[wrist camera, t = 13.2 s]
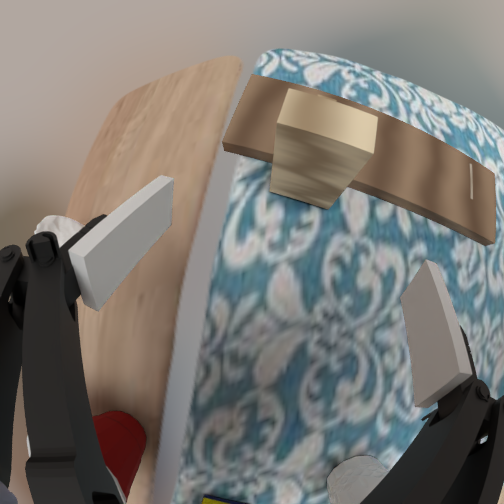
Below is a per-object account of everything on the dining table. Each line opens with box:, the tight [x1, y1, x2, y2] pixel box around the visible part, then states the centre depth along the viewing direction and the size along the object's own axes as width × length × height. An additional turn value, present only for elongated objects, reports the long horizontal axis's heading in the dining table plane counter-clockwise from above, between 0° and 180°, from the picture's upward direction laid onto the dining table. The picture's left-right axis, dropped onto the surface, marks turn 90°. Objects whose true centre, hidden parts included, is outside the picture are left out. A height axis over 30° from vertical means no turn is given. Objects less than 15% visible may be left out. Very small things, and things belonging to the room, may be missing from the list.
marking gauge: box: [270, 88, 378, 209], centre depth 22 cm, size 6×11×12 cm, turn 163°
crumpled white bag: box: [34, 215, 85, 247], centre depth 21 cm, size 6×12×6 cm
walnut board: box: [222, 74, 496, 246], centre depth 27 cm, size 34×10×2 cm, turn 73°
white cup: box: [327, 455, 389, 504], centre depth 18 cm, size 8×8×10 cm
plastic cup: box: [27, 411, 146, 504], centre depth 18 cm, size 11×11×12 cm
